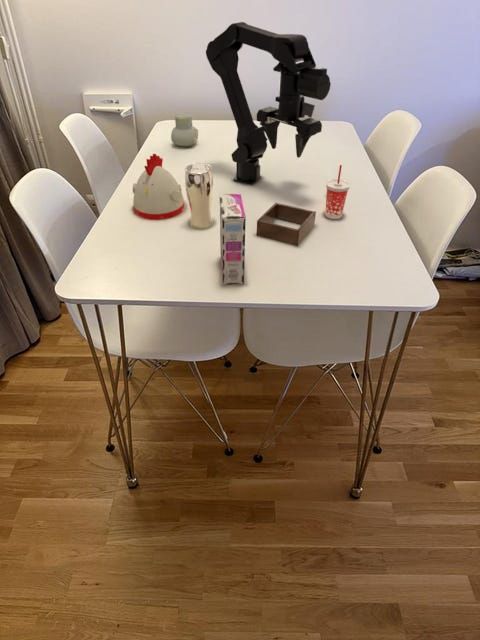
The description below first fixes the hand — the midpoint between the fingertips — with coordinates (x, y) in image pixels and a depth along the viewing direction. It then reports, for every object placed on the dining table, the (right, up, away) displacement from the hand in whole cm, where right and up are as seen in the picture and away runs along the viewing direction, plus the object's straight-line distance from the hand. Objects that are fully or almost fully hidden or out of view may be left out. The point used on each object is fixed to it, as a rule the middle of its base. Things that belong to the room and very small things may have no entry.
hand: (286, 152), depth 129 cm
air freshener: (-33, +17, +39) cm, 54 cm away
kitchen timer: (-36, -15, +1) cm, 39 cm away
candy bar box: (-15, -36, -23) cm, 45 cm away
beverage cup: (+13, -18, -3) cm, 22 cm away
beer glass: (-23, -21, -6) cm, 32 cm away
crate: (-1, -24, -9) cm, 25 cm away
